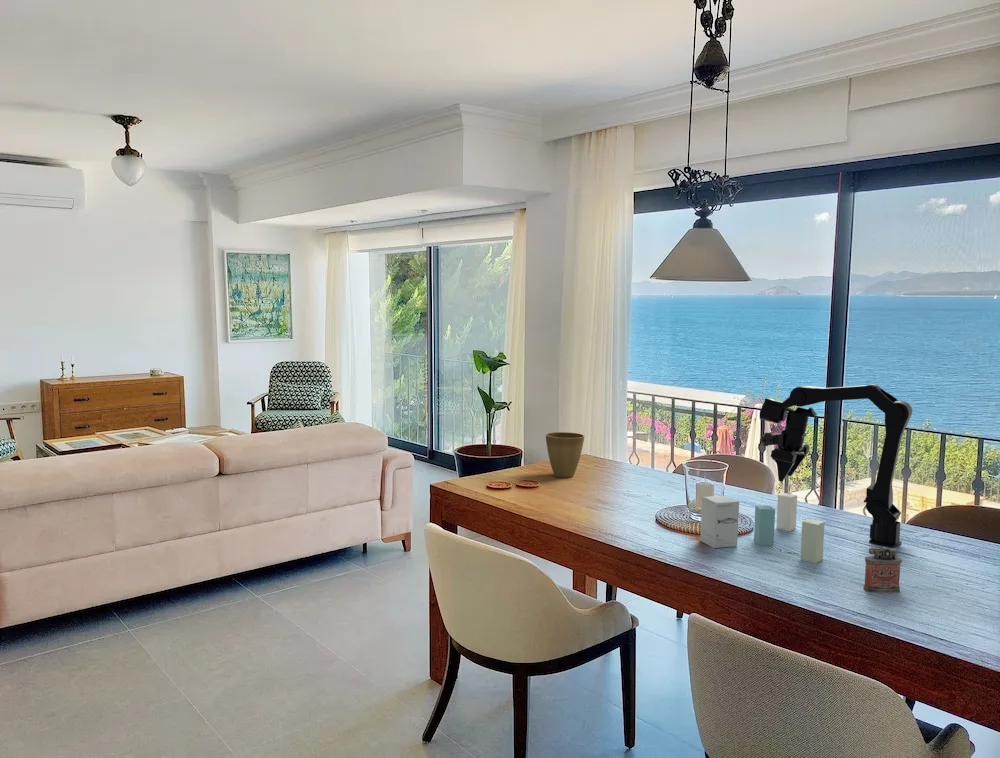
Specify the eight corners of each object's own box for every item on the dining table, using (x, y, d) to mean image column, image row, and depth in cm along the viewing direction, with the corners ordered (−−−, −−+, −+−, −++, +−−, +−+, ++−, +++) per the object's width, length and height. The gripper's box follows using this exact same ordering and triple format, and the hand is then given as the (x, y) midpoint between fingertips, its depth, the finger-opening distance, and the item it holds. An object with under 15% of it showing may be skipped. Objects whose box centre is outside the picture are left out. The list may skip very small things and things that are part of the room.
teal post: (768, 540, 206) (769, 505, 205) (773, 545, 202) (775, 509, 201) (753, 540, 206) (755, 505, 205) (759, 545, 202) (760, 509, 201)
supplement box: (714, 549, 198) (715, 502, 197) (699, 540, 205) (701, 496, 204) (738, 547, 200) (740, 501, 199) (723, 538, 207) (724, 494, 206)
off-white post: (795, 528, 218) (797, 495, 217) (789, 531, 215) (791, 497, 214) (782, 525, 220) (784, 492, 220) (776, 528, 218) (777, 495, 217)
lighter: (894, 587, 171) (897, 545, 171) (902, 592, 168) (905, 549, 167) (860, 587, 171) (862, 545, 170) (868, 592, 168) (870, 550, 167)
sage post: (822, 559, 190) (824, 521, 189) (816, 563, 187) (817, 524, 186) (807, 556, 193) (809, 518, 192) (800, 559, 190) (802, 521, 189)
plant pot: (586, 480, 278) (586, 438, 276) (546, 479, 277) (547, 437, 276) (581, 471, 292) (581, 431, 291) (543, 471, 292) (544, 431, 291)
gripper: (777, 417, 229) (767, 465, 232) (758, 425, 214) (748, 476, 217) (814, 426, 222) (803, 475, 225) (797, 434, 207) (786, 487, 210)
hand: (784, 478), depth 219 cm, fingers open, 9 cm apart
